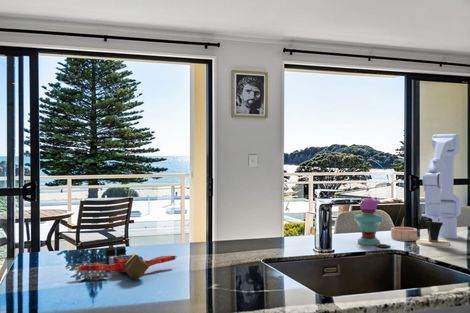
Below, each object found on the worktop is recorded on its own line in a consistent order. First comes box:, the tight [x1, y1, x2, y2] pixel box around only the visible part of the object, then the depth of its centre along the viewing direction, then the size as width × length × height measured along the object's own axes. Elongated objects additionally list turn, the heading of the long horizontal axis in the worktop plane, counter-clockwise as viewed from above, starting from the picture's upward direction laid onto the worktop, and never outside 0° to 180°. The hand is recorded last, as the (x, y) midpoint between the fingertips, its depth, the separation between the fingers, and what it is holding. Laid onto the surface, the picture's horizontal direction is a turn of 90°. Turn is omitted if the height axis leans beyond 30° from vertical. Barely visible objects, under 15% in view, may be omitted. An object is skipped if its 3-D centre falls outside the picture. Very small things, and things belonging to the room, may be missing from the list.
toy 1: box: [74, 245, 178, 281], centre depth 139 cm, size 31×8×30 cm
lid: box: [416, 230, 451, 248], centre depth 176 cm, size 12×12×5 cm
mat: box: [415, 240, 454, 249], centre depth 176 cm, size 12×12×1 cm
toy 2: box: [354, 197, 384, 247], centre depth 180 cm, size 11×11×18 cm
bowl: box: [390, 226, 418, 242], centre depth 188 cm, size 10×10×4 cm
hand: (433, 238), depth 176 cm, fingers open, 7 cm apart
